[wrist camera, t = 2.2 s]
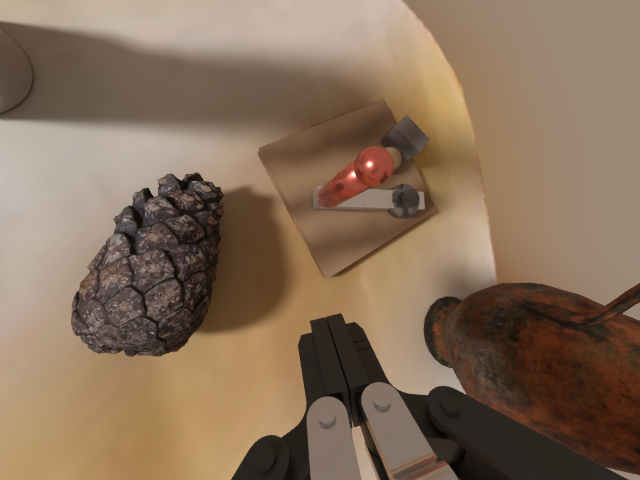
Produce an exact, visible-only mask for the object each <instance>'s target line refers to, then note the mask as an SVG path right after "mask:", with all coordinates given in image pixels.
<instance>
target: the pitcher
mask: <svg viewBox="0 0 640 480" xmlns="http://www.w3.org/2000/svg"><path fill="white" fill-rule="evenodd" d="M639 302H640V283H639V284H638V285H636V286H634V287H633V288H631V289H629V290H628V291H626V292H625V293H623V294H622V295H621V296H619V297H618V298H617V299H615V300H613V301H612V302H611V303H609V304H607V305H606V306H604V305H601V304H599V303H597V302H595V301H592V300H590V299H588V298H586V297H583V296H581V295H578V294H575V293H571V292H568V291H564V290H561V289H557V288H554V287H550V286H547V285H543V284H535V283H503V284H498V285H495V286H491V287H489V288H486V289H484V290H481V291H479V292H476V293H473V294H471V295H469V296H468V297H467V298H465V299H464V300H463V301H460V300H458V299H456V298H453V297H444V298H440V299H438V300H437V301H436V302H435V303H433V304H432V305H431V306H430V308H429V310H428V312H427V315H426V317H425V323H424V336H425V342H426V344H427V347H428V349H429V352H430V353H431V354H432V356H433V357H434V359H435V360H437V361H438V362H439V363H440V364H442V365H444V366H447V367H449V368H453V370H454V372H455V374H456V376H457V378H458V379H459V381H460V383H461V385H462V387H463V389H464V391H465V393H466V394H467V396H469V397H471V398H473V399H475V400H477V401H479V402H481V403H483V404H485V405H487V406H488V407H490V408H492V409H494V410H496V411H498V412H500V413H502V414H504V415H506V416H508V417H509V418H511V419H513V420H515V421H517V422H519V423H521V424H523V425H525V426H527V427H529V428H530V429H532V430H534V431H536V432H538V433H540V434H542V435H544V436H546V437H548V438H550V439H551V440H553V441H555V442H557V443H559V444H561V445H563V446H565V447H567V448H569V449H571V450H572V451H574V452H576V453H578V454H580V455H582V456H584V457H586V458H588V459H590V460H592V461H593V462H595V463H597V464H599V465H601V466H603V467H607V468H612V469H615V470H620V471H624V472H628V473H632V474H637V475H640V321H639V320H636V319H634V318H631V317H629V316H626V315H624V314H622V313H623V312H625V311H626V310H628V309H629V308H631V307H632V306H634V305H635V304H637V303H639Z"/></svg>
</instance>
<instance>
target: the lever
mask: <svg viewBox="0 0 640 480" xmlns="http://www.w3.org/2000/svg"><path fill="white" fill-rule="evenodd" d="M393 170H394V161H393V158H392V156H391V154H390V153H389V152H388V151H387V150H386V149H384V148H382V147H379V146H371V147H368V148H366V149H364V150H362V151H361V152H360V153H359V154H358V156H357V158H356V159H355V160H354V161H353V162H352V163H351V164H349V165H348V166H347V167H346V168H345V169H343V170H342V171H341V172H340V173H338V174H337V175H336V176H335V177H334V178H332V179H331V180H330V181H329V182H328V183H326V184H325V185H324V186H316V187H315V188H314V189H313V209H337V210H376V211H387V212H388V213H389V214H390V215H391V216H393V217H395V218H403V217H407V216H411V215H413V214H414V213H415V212H416V211H420V210H424V209H425V204H424V192H418V194H419V197H420V200H419V203H418V205H417V206H415V207H411V208H406V207H404V206H403V205H402V203H401V200H400V196H401V194H402V192H403V191H405V190H407V189H414V190H415V188H414V187H412V186H411V185H409V184H400V185H398V186H395V187H393V188H391V189H390V190H380V189H370V188H371V187H377V186H380V185H382V184H384V183H386V182H387V181H388V180H389V179H390V177H391V175H392V173H393Z"/></svg>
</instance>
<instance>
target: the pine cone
mask: <svg viewBox="0 0 640 480" xmlns="http://www.w3.org/2000/svg"><path fill="white" fill-rule="evenodd" d="M158 182H159V187H158V196H156V197H153V195H152V194H151V192H150V190H149V188H144V189H142V190H141V191H140V192H135V193H134V194H133V205H132V206H130V205H129V206H128V207H126V208H124V210H123V211H122V212H121V214H120V215H118V216H115V218H114V219H113V220H114V221H115V223H116V228H115V231H114V235H113V236H111V237H110V238H109V239H108V240H107V241H106V245H104V246H103V247H102V248H101V250H100V251H99V253H98V254H97V255H96V257H95V258H94V259H93V261H92V262H91V263H90V264H89V266H88V269H89V270H90V273H89V274H88V275H87V277H86V278H85V279H84V280H83V281H82V282H81V283H80V289H79V291H77V293H76V295H75V297H74V300H73V303H72V311H73V312H72V318H71V324H72V329H73V332H74V334H75V335H77V336H80V337H81V340H82V342H84V343H86V344H88V348H90V349H91V350H93V351H94V352H97V353H99V354H100V353H105V352H106V353H112V354H116V353H118V352H120V351H122V350H124V352H125V355H127V356H131V357H133V356H134V355H136V354H137V355H138V356H140V355H147V356H157V357H158V356H162V355H164V354H166V353H169V352H176V351H178V350H179V349H180V348H181V347H183V346H184V345H185V344H186V343H187V342H188V339H189V338H190V336H191V335H192V334H193V333H194V332H195V331H196V330H197V329H198V327H199V326H200V325H201V323H202V322H203V320H204V316H205V314H206V313H207V312H208V307H209V305H210V301H211V300H210V299H211V293H212V282H213V281H215V280H216V277H215V272H216V269H217V268H216V265H217V257H218V253H219V250H218V249H217V246H218V243H219V242H220V240H221V236H220V233H219V228H218V227H219V225H220V224H219V223H218V222H219V220H220V218H221V217H222V215H223V214H224V211H223V203H222V202H220V200H221V199H222V198H223V196H224V194H223V193H222V191H221V187H215V186H214V184H213V183H212V182H206V181H203V179H202V177H201V175H200V174H199V173H197V172H196V173H194V174H186V175H185V178H184V179H183V180H182V181H181V180H179V179H177V178H176V177H175V176H174V175H173V174H171V173H170V174H167V175H166V176H165V177H163V178H161V179H158Z"/></svg>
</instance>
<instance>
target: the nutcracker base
mask: <svg viewBox="0 0 640 480" xmlns="http://www.w3.org/2000/svg"><path fill="white" fill-rule="evenodd" d="M428 141H429V138H428V137H427V136H426V135H425V134H424V133H423V132H422V131H421V129H420V128H419V127H418V126H417V125H416V124H415V123H414V122H413V121H412V120H411V119H410V118H409V117H408V115H406V116H405V117H404V118H403V119H402V120H400V121H399V122H398V123H397V124H396V123H395V121H394V119H393V117H392V115H391V113H390V111H389V108H388V106H387V104H386V102H385V100H381V101H378V102H376V103H373V104H371V105H368V106H366V107H363V108H360V109H358V110H355V111H353V112H350V113H348V114H345V115H342V116H340V117H337V118H335V119H332V120H330V121H327V122H324V123H322V124H319V125H317V126H314V127H311V128H309V129H306V130H304V131H301V132H299V133H296V134H293V135H291V136H288V137H286V138H283V139H281V140H278V141H275V142H273V143H270V144H268V145H265V146H263V147H260V148H259V152H258V155H259V157H260V159H261V161H262V163H263V165H264V166H265V168H266V170H267V172H268V174H269V176H270V178H271V180H272V181H273V183H274V185H275V187H276V189H277V191H278V193H279V195H280V197H281V198H282V200H283V202H284V204H285V206H286V208H287V210H288V212H289V213H290V215H291V217H292V219H293V221H294V223H295V225H296V227H297V228H298V230H299V232H300V234H301V236H302V238H303V240H304V242H305V243H306V245H307V247H308V249H309V251H310V253H311V255H312V257H313V259H314V260H315V262H316V264H317V266H318V268H319V270H320V272H321V274H322V275H323V277H325V278H330V277H332V276H333V275H335V274H336V273H338V272H340V271H341V270H343V269H344V268H346V267H347V266H349V265H351V264H352V263H354V262H355V261H357V260H359V259H360V258H362V257H363V256H365V255H367V254H368V253H370V252H371V251H373V250H374V249H376V248H378V247H379V246H381V245H382V244H384V243H386V242H387V241H389V240H390V239H392V238H393V237H395V236H397V235H398V234H400V233H401V232H403V231H405V230H406V229H408V228H409V227H411V226H412V225H414V224H416V223H417V222H419V221H420V220H422V219H424V218H425V217H427V216H428V215H430V214H431V213H433V212H435V211H436V208H435V206H434V204H433V201H432V199H431V197H430V195H429V193H428V191H427V189H426V187H425V185H424V182H423V180H422V178H421V176H420V174H419V172H418V170H417V168H416V166H415V163H414V161H413V159H412V157H413V156H415V155H417V154H419V153H420V152H421V151H422V149H423V148H424V146H425V145H426V143H427V142H428ZM371 146H379V147H382V148H384V149H386V150H387V151H388V152H389V153H390V154H391V156H392V158H393V161H394V170H393V173H392V175H391V177H390V179H389V180H388V181H387V182H386V183H384V184H382V185H380V186H377V187H371V188H370V189H380V190H390V189H391V188H393V187H395V186H398V185H400V184H409V185H411V186H412V187H414V188H415V190H414V189H407V190H405V191H403V192H402V194H401V196H400V200H401V203H402V205H403V206H404V207H406V208H411V207H415V206H417V205H418V203H419V200H420V197H419V194H418V192H424V204H425V209H424V210H420V211H416V212H415V213H414V214H413V215H411V216H407V217H403V218H395V217H393V216H391V215H390V214H389V213H388V212H387V211H376V210H337V209H313V189H314V188H315V187H316V186H324V185H325V184H326V183H328V182H329V181H330V180H331V179H332V178H334V177H335V176H336V175H337V174H338V173H340V172H341V171H342V170H343V169H345V168H346V167H347V166H348V165H349V164H351V163H352V162H353V161H354V160H355V159H356V158H357V156H358V154H359V153H360V152H361V151H362V150H364V149H366V148H368V147H371Z"/></svg>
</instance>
